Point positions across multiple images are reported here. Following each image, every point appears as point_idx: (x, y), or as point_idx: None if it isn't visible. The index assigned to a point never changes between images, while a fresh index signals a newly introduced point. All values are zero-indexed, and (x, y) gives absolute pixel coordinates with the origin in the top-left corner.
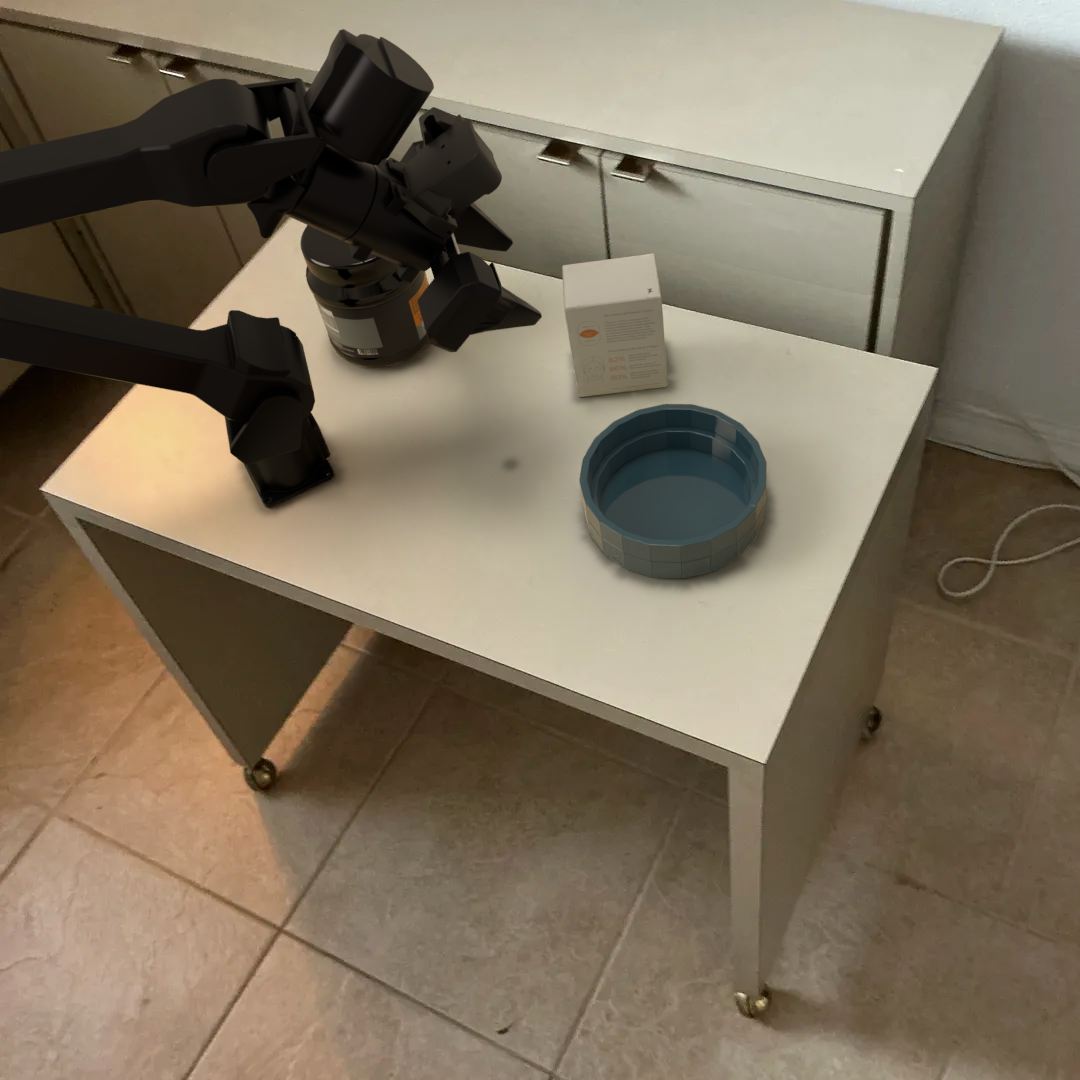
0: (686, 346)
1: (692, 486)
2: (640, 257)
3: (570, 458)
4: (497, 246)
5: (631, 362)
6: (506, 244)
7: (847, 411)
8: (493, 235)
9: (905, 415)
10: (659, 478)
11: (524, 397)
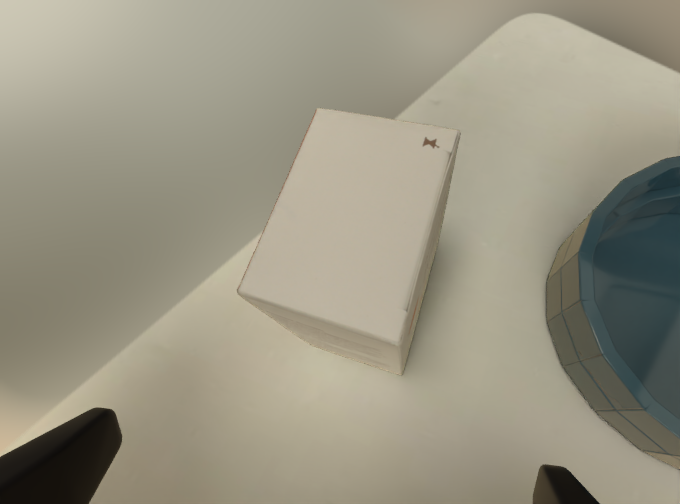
0: None
1: (664, 282)
2: (315, 132)
3: (535, 445)
4: (89, 478)
5: (429, 269)
6: (103, 437)
7: (559, 77)
8: (37, 497)
9: (585, 33)
10: (633, 321)
11: (358, 466)
